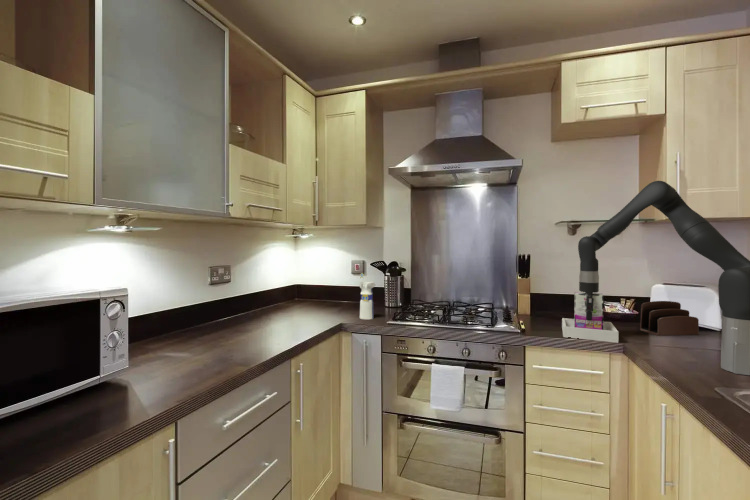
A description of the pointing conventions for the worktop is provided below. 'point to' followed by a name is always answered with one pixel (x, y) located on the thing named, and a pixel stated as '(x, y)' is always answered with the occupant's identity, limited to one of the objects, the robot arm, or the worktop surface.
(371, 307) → the white spray bottle
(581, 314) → the candy bar box
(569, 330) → the tray
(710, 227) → the robot arm
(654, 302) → the letter holder
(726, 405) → the worktop surface
